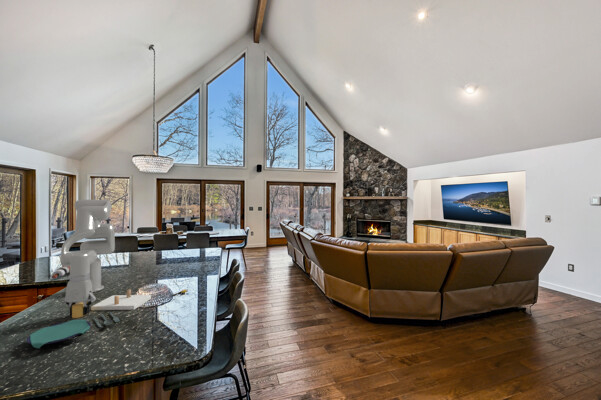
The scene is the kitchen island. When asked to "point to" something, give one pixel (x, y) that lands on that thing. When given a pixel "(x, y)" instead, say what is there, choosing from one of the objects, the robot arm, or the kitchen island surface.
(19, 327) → the kitchen island surface
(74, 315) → the acorn cap nut
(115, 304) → the plate
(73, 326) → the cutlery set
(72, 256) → the robot arm
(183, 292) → the composite cable
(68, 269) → the striped roll
